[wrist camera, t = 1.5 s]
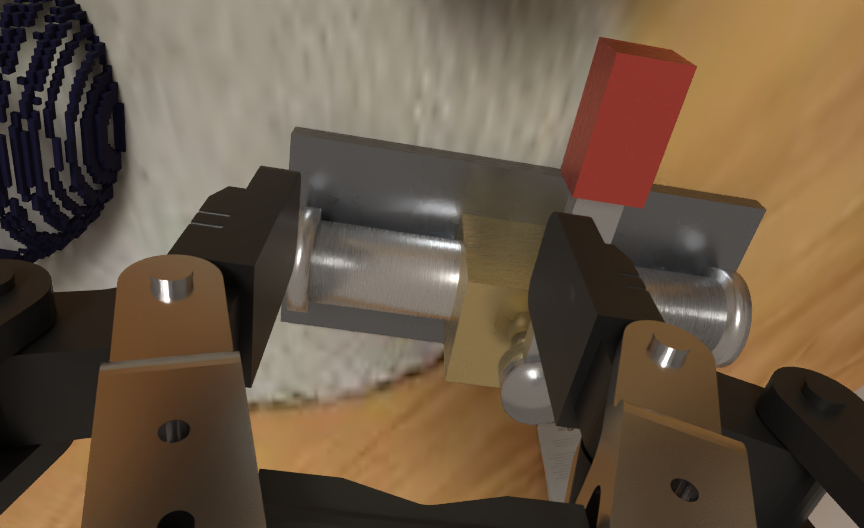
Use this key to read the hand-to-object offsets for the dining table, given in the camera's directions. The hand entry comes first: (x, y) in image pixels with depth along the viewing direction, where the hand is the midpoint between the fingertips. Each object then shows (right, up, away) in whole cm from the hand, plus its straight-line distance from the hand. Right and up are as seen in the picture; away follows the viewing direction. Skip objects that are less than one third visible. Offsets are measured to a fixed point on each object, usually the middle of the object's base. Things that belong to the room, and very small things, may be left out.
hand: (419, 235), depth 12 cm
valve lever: (+6, 0, +13) cm, 15 cm away
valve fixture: (+5, 0, +25) cm, 25 cm away
